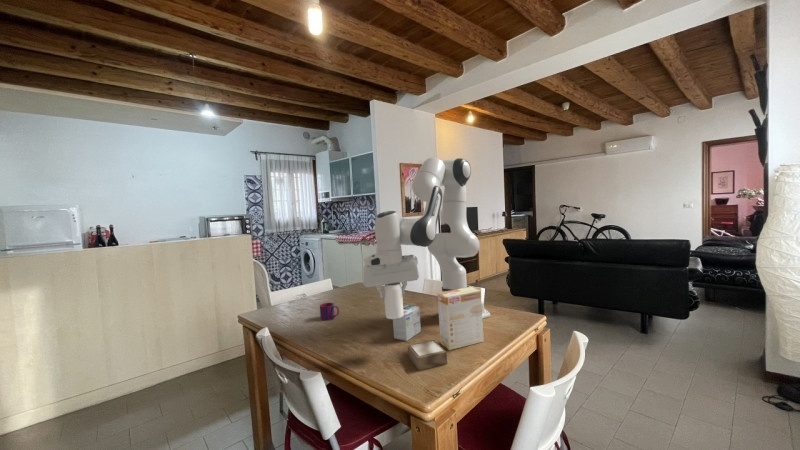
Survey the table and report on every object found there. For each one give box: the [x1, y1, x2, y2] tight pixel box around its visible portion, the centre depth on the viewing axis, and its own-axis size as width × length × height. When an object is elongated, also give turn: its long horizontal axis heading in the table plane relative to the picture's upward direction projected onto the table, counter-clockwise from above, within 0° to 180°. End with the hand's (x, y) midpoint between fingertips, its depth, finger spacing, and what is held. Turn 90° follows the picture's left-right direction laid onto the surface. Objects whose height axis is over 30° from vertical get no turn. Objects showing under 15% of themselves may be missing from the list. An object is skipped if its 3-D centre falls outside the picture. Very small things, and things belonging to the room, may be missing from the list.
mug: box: [319, 302, 340, 322], centre depth 151 cm, size 7×10×7 cm
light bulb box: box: [392, 304, 422, 342], centre depth 125 cm, size 11×7×11 cm, turn 145°
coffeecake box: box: [437, 286, 485, 351], centre depth 115 cm, size 15×7×20 cm, turn 110°
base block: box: [407, 340, 448, 371], centre depth 103 cm, size 10×10×4 cm
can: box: [383, 283, 404, 320], centre depth 110 cm, size 6×6×12 cm
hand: (392, 295), depth 110 cm, fingers closed on can, 6 cm apart
